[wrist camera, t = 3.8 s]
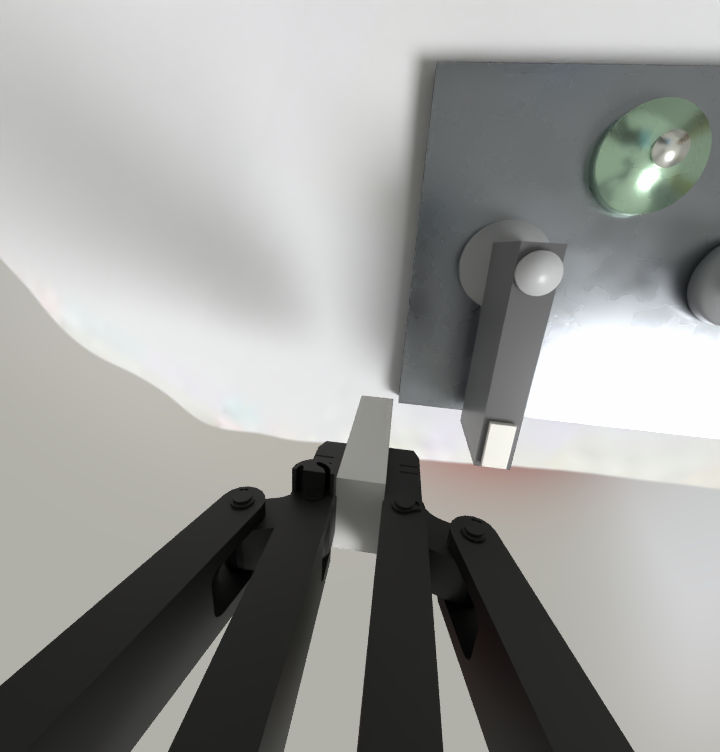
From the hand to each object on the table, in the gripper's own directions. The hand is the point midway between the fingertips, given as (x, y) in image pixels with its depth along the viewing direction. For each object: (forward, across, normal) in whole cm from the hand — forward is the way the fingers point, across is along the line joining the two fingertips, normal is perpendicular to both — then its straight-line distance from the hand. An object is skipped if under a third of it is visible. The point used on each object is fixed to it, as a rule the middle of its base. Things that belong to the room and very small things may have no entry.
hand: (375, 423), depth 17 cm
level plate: (+8, +12, +8) cm, 17 cm away
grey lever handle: (+7, +6, +4) cm, 10 cm away
